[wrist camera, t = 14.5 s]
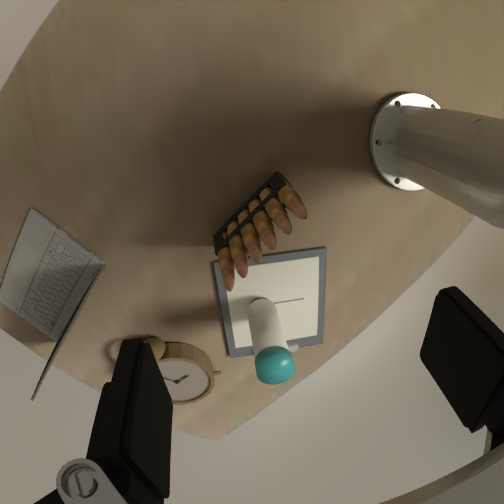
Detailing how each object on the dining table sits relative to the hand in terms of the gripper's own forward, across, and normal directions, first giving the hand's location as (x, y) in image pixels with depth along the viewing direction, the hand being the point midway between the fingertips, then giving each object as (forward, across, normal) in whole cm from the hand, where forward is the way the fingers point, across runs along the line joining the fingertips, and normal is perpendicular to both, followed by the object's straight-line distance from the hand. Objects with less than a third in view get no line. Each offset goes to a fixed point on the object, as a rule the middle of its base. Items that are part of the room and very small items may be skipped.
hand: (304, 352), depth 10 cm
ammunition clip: (+29, -1, +5) cm, 29 cm away
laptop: (+29, +28, +11) cm, 42 cm away
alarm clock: (+29, +14, +27) cm, 42 cm away
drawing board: (+28, -3, +19) cm, 34 cm away
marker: (+28, -1, +18) cm, 33 cm away
